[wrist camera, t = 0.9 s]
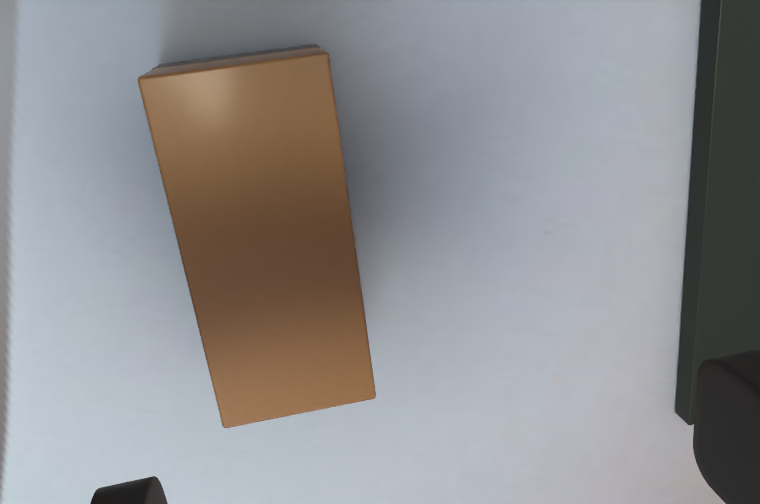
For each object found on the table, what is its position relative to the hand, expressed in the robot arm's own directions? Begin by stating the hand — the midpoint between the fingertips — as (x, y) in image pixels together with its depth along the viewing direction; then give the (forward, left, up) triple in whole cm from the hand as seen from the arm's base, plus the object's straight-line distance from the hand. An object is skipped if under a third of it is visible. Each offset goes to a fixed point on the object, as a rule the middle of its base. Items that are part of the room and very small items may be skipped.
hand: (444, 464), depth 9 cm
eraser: (0, -2, -15) cm, 15 cm away
